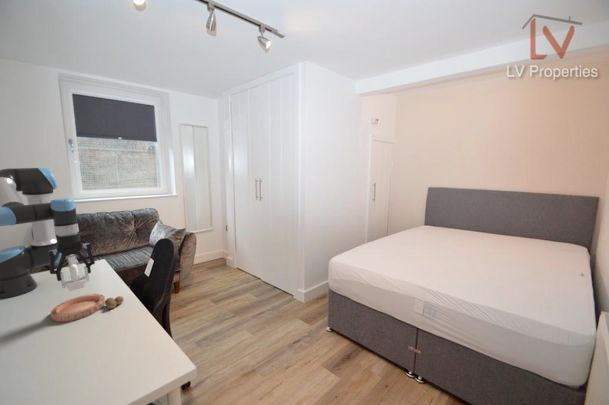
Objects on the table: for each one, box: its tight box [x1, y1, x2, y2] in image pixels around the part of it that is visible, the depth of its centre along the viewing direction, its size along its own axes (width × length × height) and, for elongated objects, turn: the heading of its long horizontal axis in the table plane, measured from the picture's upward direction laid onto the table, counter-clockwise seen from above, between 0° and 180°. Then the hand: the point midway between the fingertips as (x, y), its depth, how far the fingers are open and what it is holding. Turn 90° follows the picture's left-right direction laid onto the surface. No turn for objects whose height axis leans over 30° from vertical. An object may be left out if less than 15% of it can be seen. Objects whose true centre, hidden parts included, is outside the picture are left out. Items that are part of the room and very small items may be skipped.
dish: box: [50, 293, 106, 323], centre depth 116 cm, size 19×18×3 cm
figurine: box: [64, 254, 87, 292], centre depth 114 cm, size 7×9×15 cm
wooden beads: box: [104, 296, 124, 310], centre depth 119 cm, size 7×7×4 cm
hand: (75, 283), depth 114 cm, fingers closed on figurine, 7 cm apart
